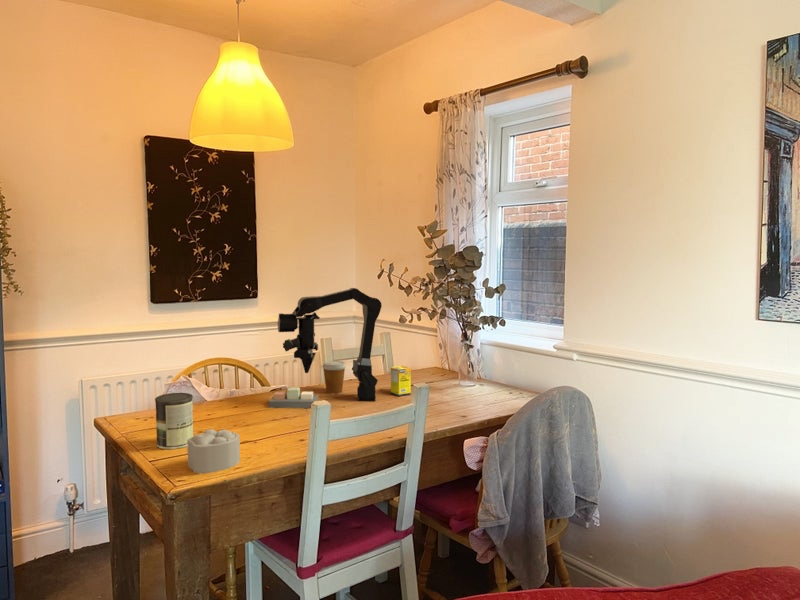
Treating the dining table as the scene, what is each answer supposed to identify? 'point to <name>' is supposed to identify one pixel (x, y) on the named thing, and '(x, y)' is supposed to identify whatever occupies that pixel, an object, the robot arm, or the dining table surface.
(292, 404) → the keypad base
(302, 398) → the cream white cube
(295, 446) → the dining table surface
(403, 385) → the supplement box
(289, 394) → the key mid
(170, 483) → the dining table surface
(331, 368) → the disposable coffee cup
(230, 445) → the lumpy-topped squat cylinder
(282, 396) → the pink cube
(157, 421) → the coffee can
